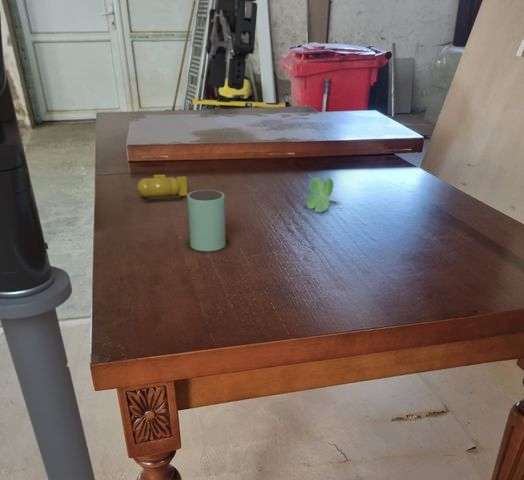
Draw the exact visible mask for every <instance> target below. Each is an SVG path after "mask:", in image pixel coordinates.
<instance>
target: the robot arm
mask: <svg viewBox="0 0 524 480" xmlns="http://www.w3.org/2000/svg"><path fill="white" fill-rule="evenodd" d="M256 1H257V0H218V1H217V7H216V9H215V8H210V9H209V12H208V15H209V17H208V27H207V28H208V29H207V30H208V31H207V44H206V54H207V55H209V58H210V59H211V61H210V64H211V65H210V78H209V85H210V86H211V87H212V88H220V89H221V88H222V89H223V88H224V87H225V86H226V75H227V87H228V88H229V89H233V90H234V89H235V90H243V89H244V87H245V77H246V75H245V74H246V66H247V65H246V64H247V60H248V59H249V58H250V57H249V56H250V55H253V54H254V51H255V44H256V29H257V16H258V3H257V2H256ZM1 13H2V12H0V298H3V299H14V298H22V297H27V296H31V295H35V294H38V293H40V292H42V291H44V290H46V289H48V288H49V287H50V286H51V285H52V284H53V282H54V277H53V273H52V270H51V266H52V265H51V263H50V258H49V254H48V250H49V245H48V242H46V240H45V236H44V232H43V227H42V223H41V218H40V214H39V210H38V205H37V201H36V197H35V191H34V188H33V183H32V179H31V175H30V174H31V173H30V170H29V165H28V162H27V155H26V152H25V146H24V142H23V138H22V134H21V129H20V125H19V121H18V117H17V112H16V107H15V103H14V98H13V95H12V90H11V85H10V80H9V76H8V72H7V67H6V62H5V57H4V56H5V55H4V48H3V46H4V45H3V34H2V16H1ZM228 56H229V61H228V62H227V59H228ZM227 63H228V73H227ZM226 73H227V74H226Z"/></svg>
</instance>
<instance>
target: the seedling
mask: <svg viewBox="0 0 524 480" xmlns="http://www.w3.org/2000/svg"><path fill="white" fill-rule="evenodd" d="M308 188H309V190H310V192H312V193H310V194H308V195H307V196H306V200H305V203H306V206H307V208H308V209H310V210H311V209H314V212H316V213H322V212H324V211H326V210H327V209H328V208H329V206H330V203H335V204H336V203H337V202H336V201H335V200H330V199H329V197H330V196H331V195H332V194H333V190H334V181H333V179H332V178H330V177H327V178H325V180H324V181H322V180H321V178H320V177H318V176H316V177H313V178H312V179H311V180H310V181H309V185H308Z"/></svg>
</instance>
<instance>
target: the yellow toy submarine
mask: <svg viewBox="0 0 524 480" xmlns="http://www.w3.org/2000/svg"><path fill="white" fill-rule="evenodd" d="M187 179H188V178H187V176H176V177H172V176H170V177H169V176H167V177H166V174H153V177H144V178H142V179H140V180H139V181H138V183H137V185H136V189H137V192H138V194H139V195H140V196H142V197H144V198H146V200H147V202H164V201H165V202H168V201H181V200H182V196H187V194H188V180H187Z"/></svg>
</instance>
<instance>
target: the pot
mask: <svg viewBox="0 0 524 480" xmlns="http://www.w3.org/2000/svg"><path fill="white" fill-rule="evenodd" d="M186 204H187V219H188V220H187V221H188V235H189V246H190V248H191V249H193V250H196V251H200V252H215V251H219V250H222V249H223V248H225V247H226V246H227V232H226V230H227V229H226V228H227V227H226V195H225V193H224V192H222V191H220V190H215V189H199V190H198V189H197V190H194V191H190V192H187V195H186Z"/></svg>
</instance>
